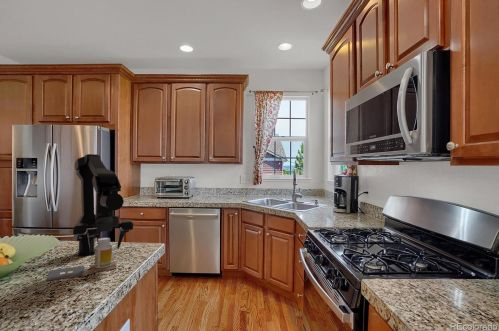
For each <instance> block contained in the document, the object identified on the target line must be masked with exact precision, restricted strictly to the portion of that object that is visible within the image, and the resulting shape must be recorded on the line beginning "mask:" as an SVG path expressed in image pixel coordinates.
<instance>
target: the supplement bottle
mask: <svg viewBox="0 0 499 331" xmlns="http://www.w3.org/2000/svg"><path fill="white" fill-rule="evenodd" d="M94 249H95V254H94V264H95V268H107V267H109V266H111V264H112V262H113V260H112V259H113V257H112V256H113V245H112V244H111V238H110V237H101V238H100V237H99V238H97V245H95V247H94Z"/></svg>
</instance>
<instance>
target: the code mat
mask: <svg viewBox="0 0 499 331" xmlns="http://www.w3.org/2000/svg"><path fill="white" fill-rule="evenodd" d="M84 270H85V265H80V266H71V267H64V268H59V269H58V268H56V269H51V270H50V271H49V272H48V275H47V277H46V278H45V282H51V281H56V280H62V279H69V278H70V279H71V278H77V277H78V278H79V277H83V276H84V272H85V271H84Z"/></svg>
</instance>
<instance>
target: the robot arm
mask: <svg viewBox="0 0 499 331" xmlns="http://www.w3.org/2000/svg"><path fill="white" fill-rule="evenodd" d="M74 170H75V174H76V176H77V178H78V179H79V180H80V195H81V199H80V200H81V216H80V217H79V218H78V220H77V223H75V224H74V226H73V227H72V235H73V240H74V241H76V242H78V251H77V254H76V257H82V256H90V255H91V256H92V255H95V247H96V245H95V243H96V242H95V239H100V237H101V233H102V232H108V233H109V232H112V231H113V229H118V236H117V243H116V244H117V245H116V246H117V248H116V249H117V250H119V249H120V248H121V245H122V243H123V242H122V241H123V239H124V236H125V235H126V234H127V233H129V232H130V230H131V231H132V230H134V222H133V221H132V220H131V219H125V220H124V219H123V220H120V215H116V216H115V215H114V212H115V211H118V210H119V209H122V207H123V205H124V203H125V201H124V198H123V196H122V195H121V194H119V192H121V191H122V185H121V182H120V180H119V177H118V176H117V174H116V173H115V172H114V171H113V170H110V169H108V168H107V167H106V165H105V164H104V162H103V161H102V159H101V156H100V154H98V153H97V154H93V153H92V154H91V153H87V154H85V155H84V156H82V157H78V158H77V159H76V160H75V162H74ZM94 192H95V193H94ZM95 194H96V195H95Z"/></svg>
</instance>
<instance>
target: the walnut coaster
mask: <svg viewBox="0 0 499 331" xmlns="http://www.w3.org/2000/svg"><path fill="white" fill-rule="evenodd" d="M111 269H112V270H117V263H116V261H113V260H112V264H111V266H109V267H107V268H95V263H91V264H90V269H89V270H90V271H89V272H90V273H97V272H104V271H109V270H111Z"/></svg>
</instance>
